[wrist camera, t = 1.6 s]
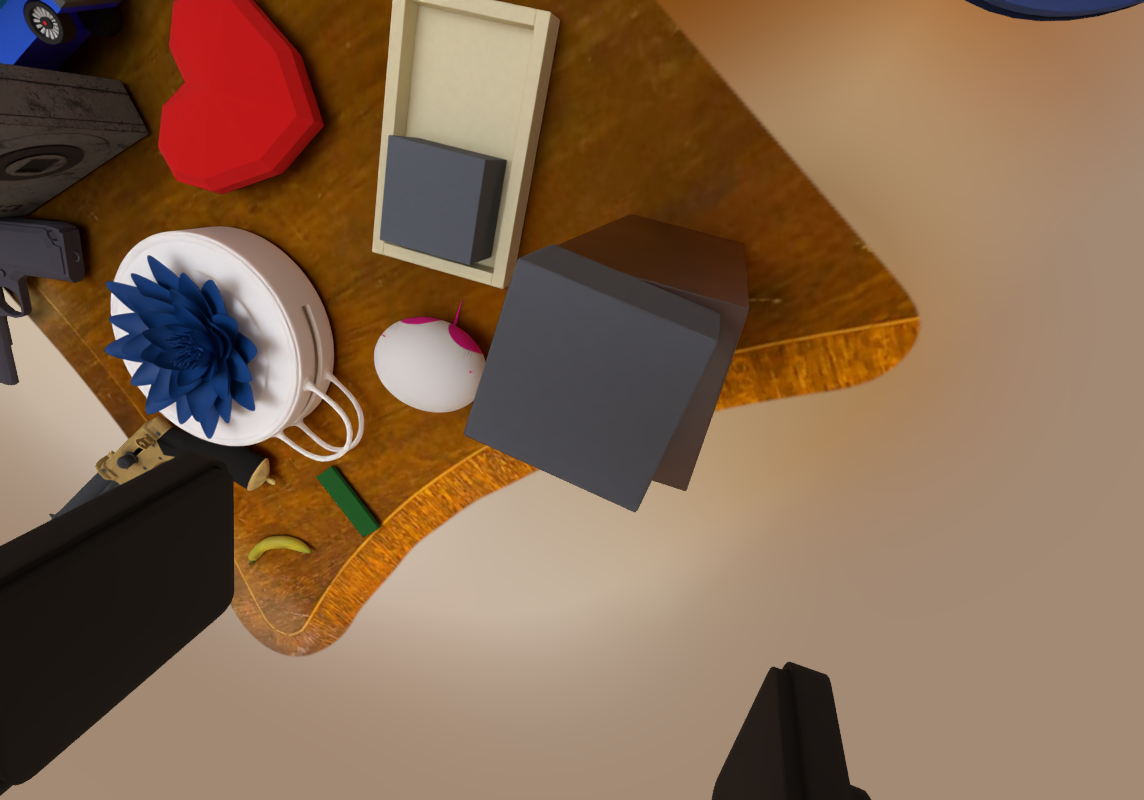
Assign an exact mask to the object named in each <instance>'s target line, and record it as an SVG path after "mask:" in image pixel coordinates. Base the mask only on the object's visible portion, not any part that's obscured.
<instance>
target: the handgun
mask: <svg viewBox="0 0 1144 800" xmlns="http://www.w3.org/2000/svg"><path fill="white" fill-rule="evenodd" d="M84 275H85V268H84V261H83V255H82V248H81V241H80V234H79V230H78V229H76V227H75V226H74V225H72V224H69V223H65V222H61V221H47V220H36V219H26V218H16V217H6V218H0V383H3V384H7V385H15V384H17V383H18V382H19V380H18V375H17V371H16V366H15V362H14V358H13V353H12V349H11V345H12V344H13V343H12V339H11V335H10V330H9V326H8V321H7V316H11V317H15V318H17V317H22V316H26V315H28V314H30V313H31V311H32V308H31V302H30V297H29V292H28V287H27V282H26V279H27V277H28V276H36V277H43V278H50V279H57V280H64V281H71V282H74V283H75V282H78V281H81V280H83V277H84ZM2 287H6V288H9V289H10V290H12V291H13V292H14V293H15V294H16V295H17V296H18V297H19V300H20V305H21V311H22V312H18V311H15V310H14V309H13V308H12V307H10V306H9V305H8V304H7V302H6V301H5V297H4V293H3V289H2Z"/></svg>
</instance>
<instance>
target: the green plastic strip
mask: <svg viewBox="0 0 1144 800" xmlns="http://www.w3.org/2000/svg"><path fill="white" fill-rule="evenodd" d="M317 479H318V480H319V481H320V483H321V484H322V485H323V486H324V488H325V489H326V490H327V492H328V493H329V494H330V495H331V497H332V498H333V499H334V501H335V502H336V503H337V504H338V506H339V507H340V508H341V510H342V511H343V512H344V514H345V515H346V516H347V517H348V519H349V520H350V521H351V523H352V524H353V525H354V526H355V528H356V529H357V530H358V532H359V533H360V534H361V535H362V537H365V536H367V535H368V534H370V533H372V532H374V531H375V530H377V529H379V528H380V527H381V526H380V525H379V524H378V522H377V521H376V520H375V518H374V517H373V516H372V515H371V513H370V512H369V511H368V509H367V508H366V507H365V505H364V504H363V503H362V502H361V500H360V499H359V498H358V496H357V495H356V494H355V492H354V491H353V490H352V489H351V487H350V486H349V485H348V483H347V482H346V481H345V479H344V478H343V477H342V476H341V474H340V473H339V472H338V470H337V469H336V468H335V466H334V465H333V466H332V467H330V468H329V469H328V470H326V471H325V472H323V473H322V474H320V475H319V476H317Z"/></svg>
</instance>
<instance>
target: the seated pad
mask: <svg viewBox="0 0 1144 800" xmlns="http://www.w3.org/2000/svg"><path fill="white" fill-rule="evenodd" d="M506 163H507V160H505V159H501V158H497V157H493V156H489V155H485V154H481V153H477V152H473V151H469V150H465V149H461V148H457V147H453V146H449V145H445V144H441V143H437V142H433V141H429V140H425V139H421V138H416V137H406V136H395V135H389V136H388V148H387V159H386V171H385V183H384V194H383V206H382V217H381V229H380V240H382V241H386V242H389V243H393V244H397V245H400V246H404V247H407V248H411V249H414V250H418V251H421V252H425V253H428V254H432V255H436V256H439V257H443V258H446V259H450V260H453V261H457V262H460V263H464V264H467V265H471V264H474V263H477V262H479V261H482V260H485V259H488V258H490V257H491V256H492V250H493V243H494V237H495V231H496V225H497V219H498V213H499V206H500V200H501V194H502V188H503V182H504V176H505V170H506Z"/></svg>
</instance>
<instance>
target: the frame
mask: <svg viewBox="0 0 1144 800" xmlns="http://www.w3.org/2000/svg"><path fill="white" fill-rule="evenodd" d="M559 24H560V20H559V19H558V18H557V17H556V16H555V15H553V14H552V13H551V12H548V11H543V10H539V9H538V10H537V9H534V8H529V7H524V6H519V5H515V4H510V3H505V2H501V1H496V0H393V3H392V15H391V27H390V39H389V51H388V64H387V76H386V88H385V100H384V112H383V124H382V137H381V149H380V161H379V173H378V185H377V197H376V210H375V222H374V234H373V246H372V252H375V253H379V254H382V255H386V256H389V257H393V258H396V259H400V260H403V261H407V262H410V263H414V264H417V265H421V266H424V267H428V268H431V269H435V270H438V271H442V272H445V273H449V274H452V275H456V276H459V277H463V278H466V279H470V280H473V281H477V282H480V283H484V284H487V285H491V286H494V287H498V288H501V289H503V288H505V287H507V286H509V285H510V282H511V279H512V275H513V272H514V269H515V266H516V262H517V257H518V251H519V246H520V240H521V235H522V229H523V224H524V218H525V213H526V207H527V201H528V196H529V190H530V185H531V179H532V174H533V168H534V163H535V157H536V151H537V146H538V140H539V135H540V129H541V124H542V118H543V113H544V107H545V101H546V96H547V90H548V85H549V79H550V74H551V68H552V63H553V57H554V51H555V46H556V40H557V35H558V29H559ZM389 135H395V136H406V137H416V138H421V139H425V140H429V141H433V142H437V143H441V144H445V145H449V146H453V147H457V148H461V149H465V150H469V151H473V152H477V153H481V154H485V155H489V156H493V157H497V158H501V159H505V160H507V163H506V170H505V176H504V182H503V188H502V194H501V200H500V206H499V213H498V219H497V225H496V231H495V237H494V243H493V250H492V256H491V257H490V258H488V259H485V260H482V261H479V262H477V263H474V264H471V265H467V264H464V263H460V262H457V261H453V260H450V259H446V258H443V257H439V256H436V255H432V254H428V253H425V252H421V251H418V250H414V249H411V248H407V247H404V246H400V245H397V244H393V243H389V242H386V241H382V240H380V229H381V217H382V206H383V194H384V183H385V171H386V159H387V148H388V136H389Z"/></svg>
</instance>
